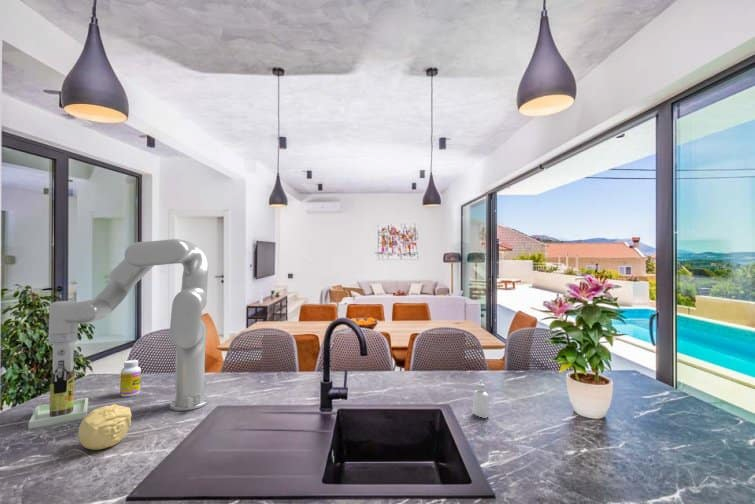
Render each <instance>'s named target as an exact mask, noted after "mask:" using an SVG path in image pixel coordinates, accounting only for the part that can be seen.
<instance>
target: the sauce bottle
mask: <svg viewBox="0 0 755 504" xmlns="http://www.w3.org/2000/svg"><path fill="white" fill-rule="evenodd" d="M63 366H64V365H63ZM75 379H76V376H75V371H74V370H72V372H67V373H66V380H67V391H66V392H64V393H58V394H54V381H55V374H53V373H52V374H51V376H50V387H49V404H50V409H49V410H50V416H52V417H56V416H62V415H66V414H69V413H71V412H72V411H73V406H74V400H75Z"/></svg>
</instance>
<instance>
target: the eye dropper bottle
mask: <svg viewBox="0 0 755 504" xmlns="http://www.w3.org/2000/svg"><path fill="white" fill-rule="evenodd" d="M485 385H486V384H485V383H483V380H482V379H479V382H478V383H477V384H476V389H477V390H476V389H475V390H474V391H473V394H472V406H473V407H472V413H475V414H476V415H478V416H480V417H485V418H486V417H488V418H489V417H490V396H489V394H488V393H487V392H486V390H485ZM476 415H475V416H476ZM480 417H479V418H480ZM486 419H487V418H486Z"/></svg>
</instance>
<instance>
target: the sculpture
mask: <svg viewBox="0 0 755 504" xmlns="http://www.w3.org/2000/svg"><path fill="white" fill-rule="evenodd" d="M131 425H132V412H131V408H130V407H129V406H124V405H119V404H116V403H112V404H111V405H105V406H101V407H97V408H96V409H93V410H92V411H91V412H89V413H87V415H86V416H85V418H84V419H81V421H80V425H79V426H78V431H77V432H78V433H77V434H78V436H77V437H78V440H79V443H80V444H81V446H82V447H84V448H86V449H87V450H94V451H98V450H103V449H107V448H110V447H114V446H115V445H117V444H119V443H120V441H122V440H123V439H124V437H125V436H126V434H127V433H128V432H127V431H129V428H130V427H131Z"/></svg>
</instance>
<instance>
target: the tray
mask: <svg viewBox="0 0 755 504" xmlns="http://www.w3.org/2000/svg"><path fill="white" fill-rule="evenodd" d="M88 405H89V397H83V398H77V399H74V406H73V411H72V412H71V413H69V414H66V415H62V416H56V417H52V416H50V410H49V409H50V403H47V404H42V405H36V407H35V409H34V411H33V413H32V415H31V418H30V419H29V421H28V430H34V429H39V428H43V427H48V426H53V425H54V426H55V425H60V424H63V423H65V424H66V423H70V422H75V421H80V420H81V421H82V420H83V419H84V418H85V416H86V415H88V408H89V406H88Z"/></svg>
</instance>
